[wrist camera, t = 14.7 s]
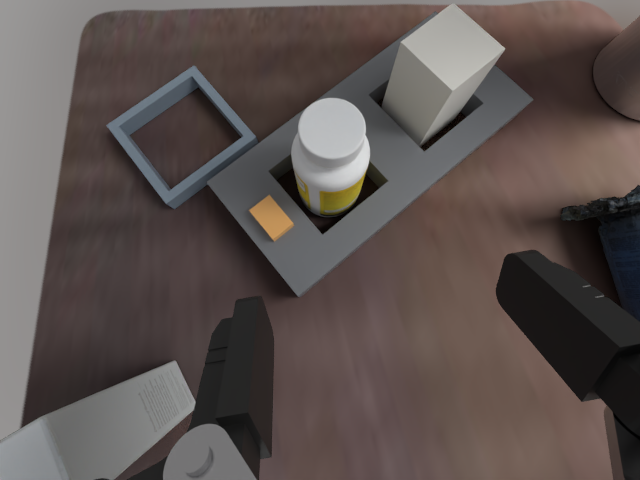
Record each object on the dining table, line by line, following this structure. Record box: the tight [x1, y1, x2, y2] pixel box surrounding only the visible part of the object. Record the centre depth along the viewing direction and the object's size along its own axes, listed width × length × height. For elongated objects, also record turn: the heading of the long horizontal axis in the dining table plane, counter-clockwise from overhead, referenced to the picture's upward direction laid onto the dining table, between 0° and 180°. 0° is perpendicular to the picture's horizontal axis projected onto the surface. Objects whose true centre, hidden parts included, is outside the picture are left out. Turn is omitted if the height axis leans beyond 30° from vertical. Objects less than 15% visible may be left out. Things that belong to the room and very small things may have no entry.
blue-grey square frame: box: [106, 66, 258, 209], centre depth 27 cm, size 10×10×2 cm
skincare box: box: [0, 360, 196, 480], centre depth 18 cm, size 6×4×12 cm
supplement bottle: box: [291, 98, 370, 217], centre depth 22 cm, size 5×5×10 cm
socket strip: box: [206, 3, 534, 297], centre depth 23 cm, size 26×12×8 cm, turn 130°
